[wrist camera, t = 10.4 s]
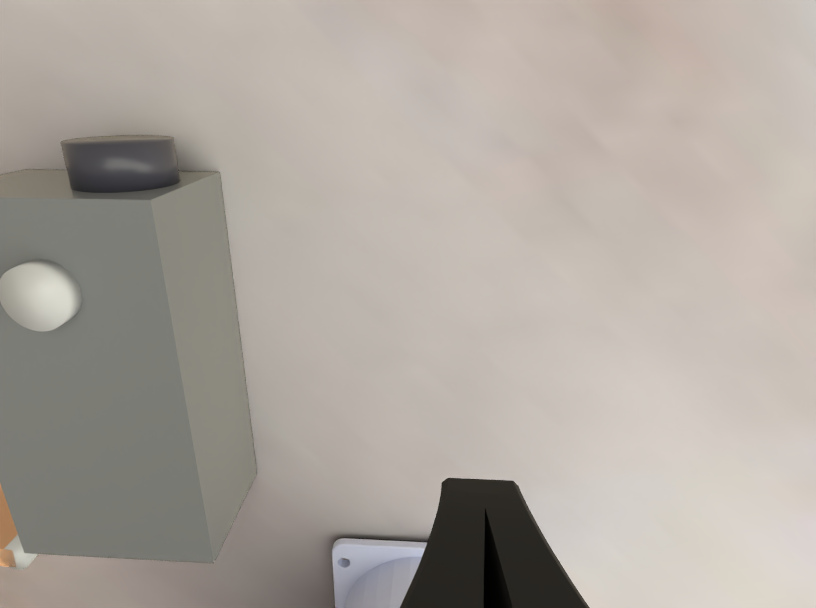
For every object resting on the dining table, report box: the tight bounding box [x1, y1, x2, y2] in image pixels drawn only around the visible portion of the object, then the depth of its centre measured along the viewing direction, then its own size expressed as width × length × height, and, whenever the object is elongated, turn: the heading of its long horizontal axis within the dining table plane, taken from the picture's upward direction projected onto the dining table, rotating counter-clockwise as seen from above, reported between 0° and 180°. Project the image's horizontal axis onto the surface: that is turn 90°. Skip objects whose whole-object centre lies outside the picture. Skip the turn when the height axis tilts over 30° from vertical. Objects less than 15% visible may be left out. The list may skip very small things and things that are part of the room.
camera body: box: [0, 135, 257, 563], centre depth 17 cm, size 13×6×5 cm, turn 0°
